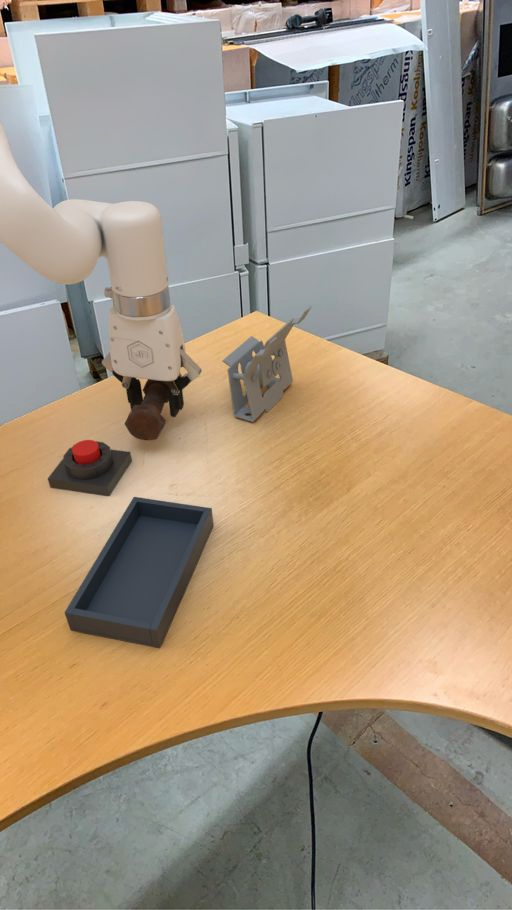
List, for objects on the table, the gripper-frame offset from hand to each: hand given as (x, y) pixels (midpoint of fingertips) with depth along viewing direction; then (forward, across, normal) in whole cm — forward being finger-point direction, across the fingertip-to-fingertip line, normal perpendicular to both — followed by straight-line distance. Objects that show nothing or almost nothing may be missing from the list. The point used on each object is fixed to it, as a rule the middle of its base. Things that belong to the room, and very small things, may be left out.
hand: (156, 408), depth 100 cm
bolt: (+1, 0, 0) cm, 1 cm away
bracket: (+3, +15, +10) cm, 18 cm away
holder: (+4, +10, -29) cm, 31 cm away
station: (+4, -5, -13) cm, 14 cm away
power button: (+1, -5, -13) cm, 14 cm away
